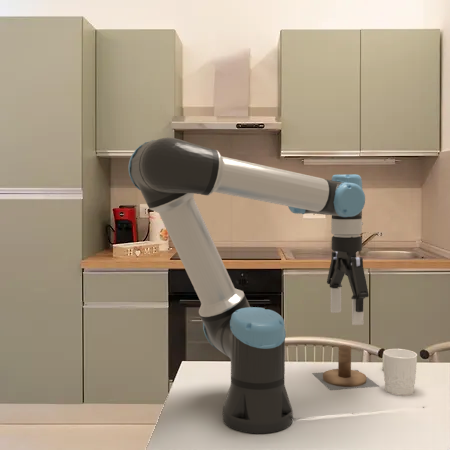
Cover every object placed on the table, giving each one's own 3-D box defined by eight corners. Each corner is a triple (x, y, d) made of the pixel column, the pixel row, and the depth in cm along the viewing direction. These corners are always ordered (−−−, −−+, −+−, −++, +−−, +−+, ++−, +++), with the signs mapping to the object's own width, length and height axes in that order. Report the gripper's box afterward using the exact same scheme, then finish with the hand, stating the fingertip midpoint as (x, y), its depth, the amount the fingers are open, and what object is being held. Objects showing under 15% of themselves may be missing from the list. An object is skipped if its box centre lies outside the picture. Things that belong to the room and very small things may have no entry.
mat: (330, 393, 143) (330, 390, 143) (311, 376, 156) (311, 373, 156) (379, 389, 146) (379, 386, 146) (357, 372, 158) (357, 369, 158)
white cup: (412, 388, 146) (413, 349, 146) (419, 399, 139) (420, 358, 138) (380, 387, 147) (380, 348, 147) (385, 398, 139) (386, 357, 139)
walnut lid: (332, 388, 144) (333, 354, 144) (316, 374, 155) (316, 342, 154) (373, 385, 146) (374, 351, 146) (355, 371, 157) (355, 340, 156)
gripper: (383, 239, 137) (382, 329, 138) (340, 230, 161) (340, 307, 162) (353, 240, 135) (353, 331, 137) (315, 231, 159) (315, 308, 161)
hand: (346, 318), depth 150 cm, fingers open, 13 cm apart
